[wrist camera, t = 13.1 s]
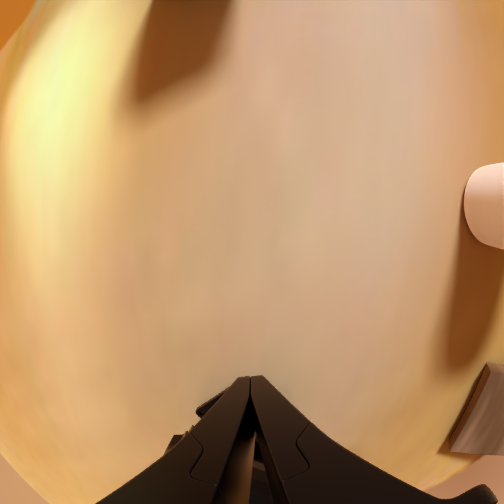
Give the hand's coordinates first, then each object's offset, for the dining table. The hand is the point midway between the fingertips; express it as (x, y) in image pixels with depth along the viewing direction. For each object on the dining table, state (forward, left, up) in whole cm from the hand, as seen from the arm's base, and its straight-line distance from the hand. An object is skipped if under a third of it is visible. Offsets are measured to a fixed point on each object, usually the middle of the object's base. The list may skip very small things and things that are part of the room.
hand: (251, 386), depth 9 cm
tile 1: (+6, -23, -11) cm, 26 cm away
